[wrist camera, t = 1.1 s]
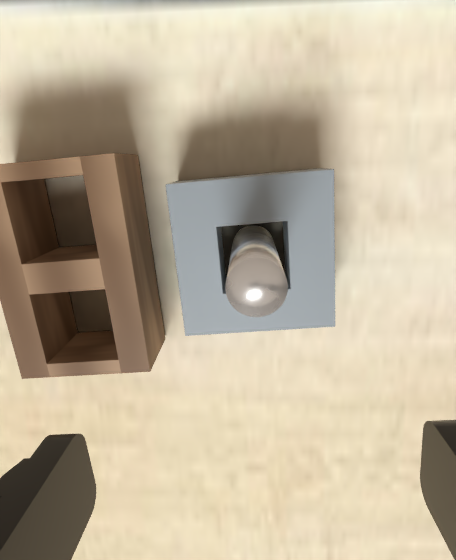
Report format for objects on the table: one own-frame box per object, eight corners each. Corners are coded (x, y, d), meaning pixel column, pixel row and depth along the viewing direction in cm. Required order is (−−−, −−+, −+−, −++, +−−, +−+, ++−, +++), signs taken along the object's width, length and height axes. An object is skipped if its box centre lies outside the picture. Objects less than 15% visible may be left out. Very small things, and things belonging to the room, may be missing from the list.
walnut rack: (137, 154, 26) (113, 153, 22) (165, 338, 31) (150, 371, 26) (13, 166, 27) (-37, 167, 22) (56, 345, 31) (22, 378, 26)
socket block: (321, 168, 26) (333, 169, 22) (323, 304, 29) (335, 326, 25) (177, 181, 27) (165, 184, 23) (193, 313, 30) (185, 335, 26)
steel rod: (272, 223, 27) (286, 255, 18) (274, 263, 28) (289, 315, 19) (230, 226, 28) (222, 260, 18) (234, 266, 29) (228, 319, 19)
